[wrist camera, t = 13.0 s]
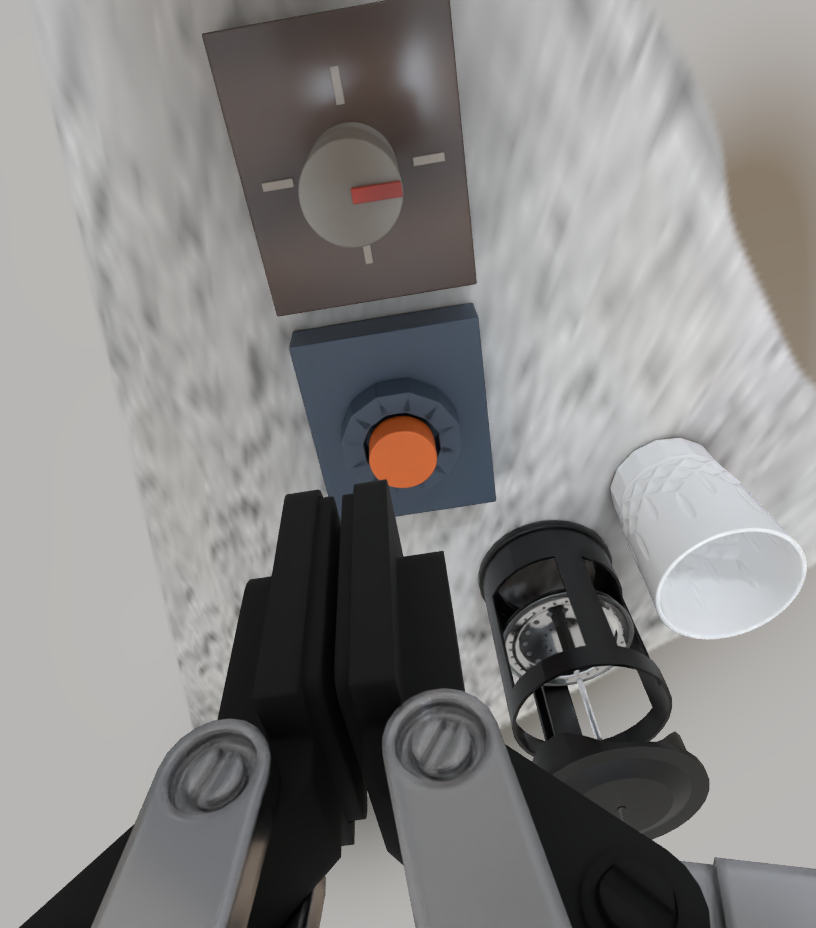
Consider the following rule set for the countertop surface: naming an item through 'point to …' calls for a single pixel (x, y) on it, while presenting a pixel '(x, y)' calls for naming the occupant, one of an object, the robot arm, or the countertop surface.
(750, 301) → the countertop surface
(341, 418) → the button block
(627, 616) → the french press
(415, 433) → the release button
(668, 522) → the white cup
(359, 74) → the panel
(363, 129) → the lock knob
